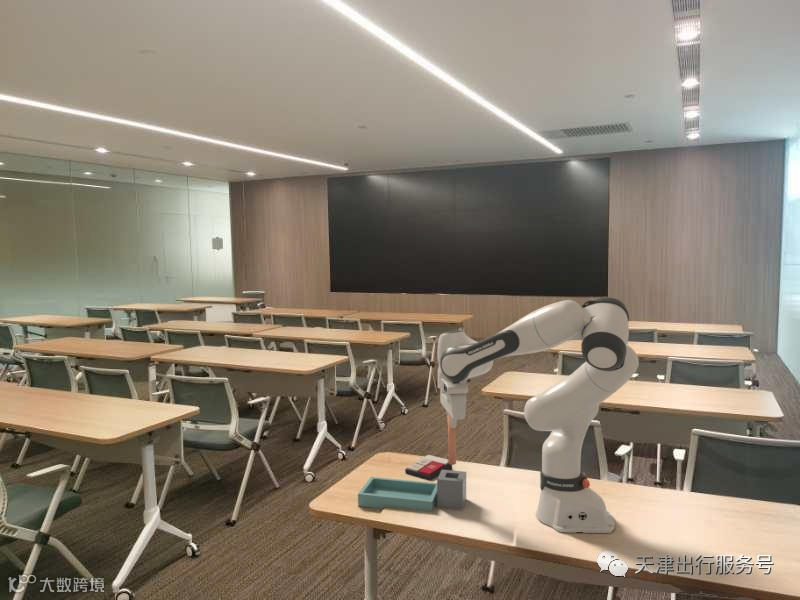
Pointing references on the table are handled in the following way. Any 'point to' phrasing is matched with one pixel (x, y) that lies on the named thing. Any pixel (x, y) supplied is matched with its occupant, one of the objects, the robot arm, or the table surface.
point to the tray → (398, 494)
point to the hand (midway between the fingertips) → (452, 425)
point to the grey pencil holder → (451, 489)
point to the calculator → (428, 467)
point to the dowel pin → (451, 443)
